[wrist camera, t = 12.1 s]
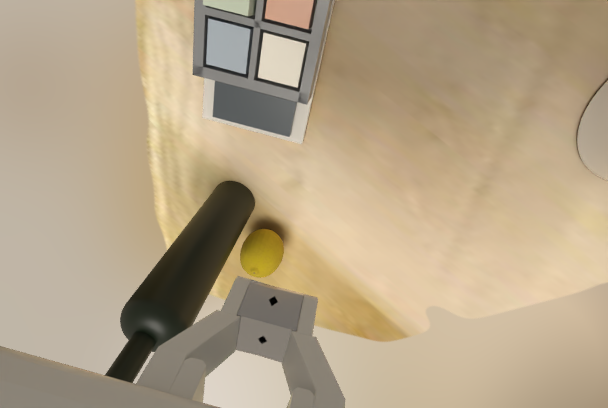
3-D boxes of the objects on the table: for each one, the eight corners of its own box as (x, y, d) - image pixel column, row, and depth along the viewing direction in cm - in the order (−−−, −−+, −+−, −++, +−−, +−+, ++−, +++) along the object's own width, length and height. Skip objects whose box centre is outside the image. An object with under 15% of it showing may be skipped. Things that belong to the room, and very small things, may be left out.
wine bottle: (239, 224, 48) (99, 476, 23) (206, 199, 47) (19, 438, 22) (263, 200, 45) (133, 457, 20) (228, 172, 44) (43, 412, 19)
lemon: (256, 250, 50) (238, 289, 44) (246, 219, 48) (227, 256, 41) (291, 248, 49) (280, 289, 42) (284, 217, 46) (270, 255, 40)
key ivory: (269, 30, 33) (263, 32, 31) (309, 40, 33) (306, 43, 31) (263, 72, 35) (257, 77, 33) (301, 82, 35) (297, 87, 33)
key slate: (217, 16, 33) (208, 18, 31) (257, 27, 33) (250, 29, 31) (214, 60, 35) (206, 63, 33) (252, 69, 35) (245, 74, 33)
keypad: (215, -76, 30) (195, -85, 27) (344, -43, 30) (341, -48, 27) (205, 115, 40) (190, 127, 37) (303, 141, 40) (297, 155, 37)
